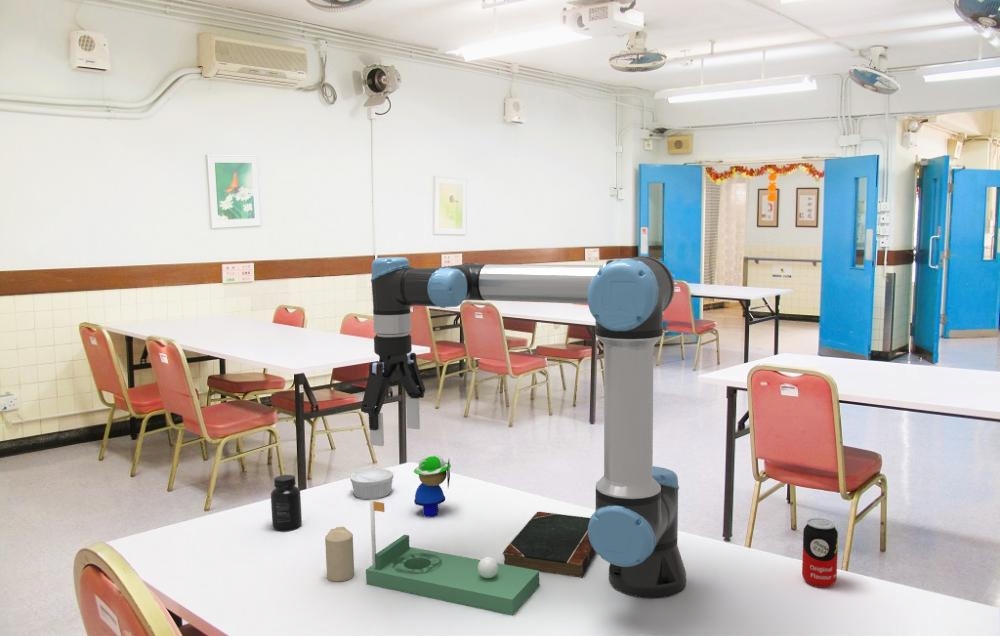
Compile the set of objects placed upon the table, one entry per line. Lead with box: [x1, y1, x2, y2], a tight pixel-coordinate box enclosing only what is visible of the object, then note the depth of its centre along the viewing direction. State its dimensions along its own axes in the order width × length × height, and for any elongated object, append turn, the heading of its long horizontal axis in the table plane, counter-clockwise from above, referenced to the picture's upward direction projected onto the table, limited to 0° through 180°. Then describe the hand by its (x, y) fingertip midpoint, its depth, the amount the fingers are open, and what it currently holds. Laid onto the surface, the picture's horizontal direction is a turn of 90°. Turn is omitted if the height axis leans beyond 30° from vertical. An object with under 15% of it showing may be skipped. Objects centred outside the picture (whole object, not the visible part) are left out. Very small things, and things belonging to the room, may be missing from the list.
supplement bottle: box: [270, 474, 303, 532], centre depth 190 cm, size 7×7×12 cm
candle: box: [324, 526, 355, 583], centre depth 163 cm, size 6×6×10 cm
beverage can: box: [801, 517, 839, 588], centre depth 157 cm, size 6×6×12 cm
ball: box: [478, 556, 499, 578], centre depth 155 cm, size 4×4×4 cm
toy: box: [413, 453, 452, 518], centre depth 197 cm, size 9×9×15 cm
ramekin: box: [349, 468, 394, 500], centre depth 212 cm, size 11×11×5 cm
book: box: [501, 511, 598, 579], centre depth 175 cm, size 17×4×25 cm
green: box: [365, 499, 540, 616], centre depth 158 cm, size 32×13×17 cm, turn 65°
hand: (396, 436), depth 164 cm, fingers open, 13 cm apart
